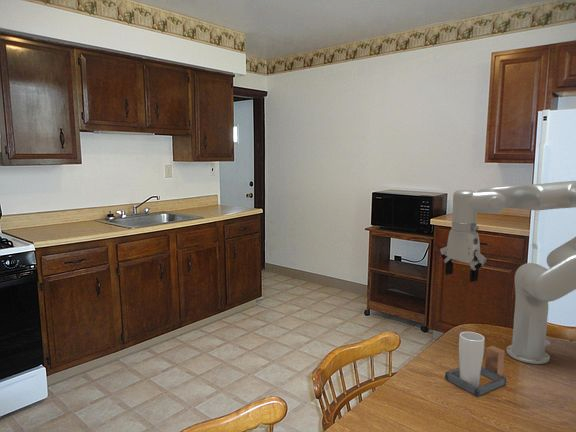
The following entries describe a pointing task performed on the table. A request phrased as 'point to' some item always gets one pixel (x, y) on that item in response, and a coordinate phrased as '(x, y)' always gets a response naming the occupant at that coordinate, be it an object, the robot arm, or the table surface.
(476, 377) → the drinking glass
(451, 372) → the frame
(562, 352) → the table surface
